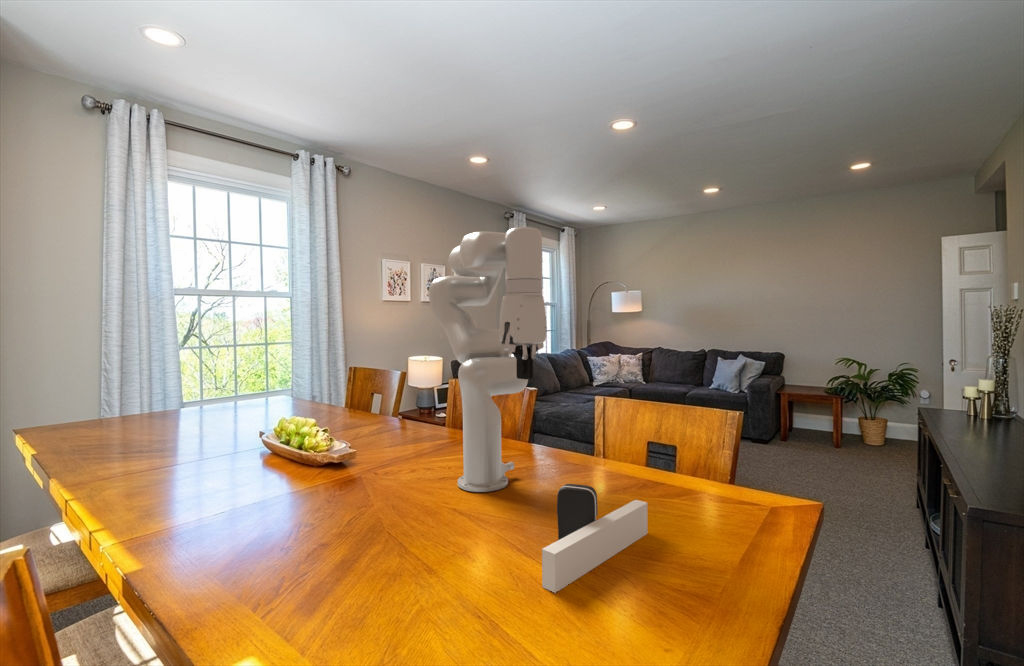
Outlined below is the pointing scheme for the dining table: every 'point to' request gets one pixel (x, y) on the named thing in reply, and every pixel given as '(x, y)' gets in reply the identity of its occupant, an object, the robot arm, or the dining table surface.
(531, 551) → the dining table surface
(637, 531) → the board
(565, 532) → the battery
